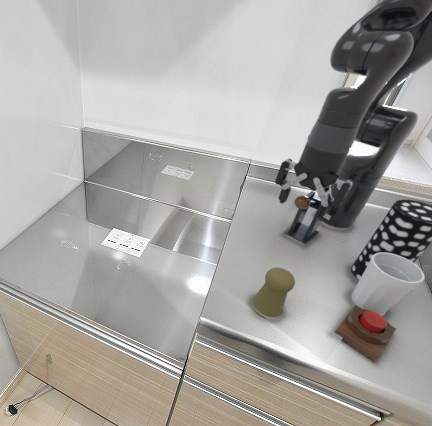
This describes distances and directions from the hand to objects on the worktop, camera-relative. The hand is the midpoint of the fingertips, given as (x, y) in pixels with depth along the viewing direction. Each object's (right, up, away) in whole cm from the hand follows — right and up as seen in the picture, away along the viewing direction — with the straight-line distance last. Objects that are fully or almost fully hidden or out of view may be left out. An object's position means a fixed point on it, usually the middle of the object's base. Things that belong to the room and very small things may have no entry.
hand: (299, 209), depth 69 cm
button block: (+6, -25, -11) cm, 28 cm away
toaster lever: (+4, 0, +3) cm, 5 cm away
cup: (+12, -21, -5) cm, 25 cm away
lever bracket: (+9, -7, +14) cm, 18 cm away
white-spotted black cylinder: (+17, -17, +1) cm, 24 cm away
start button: (+6, -22, -13) cm, 26 cm away
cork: (-11, -22, -5) cm, 25 cm away
